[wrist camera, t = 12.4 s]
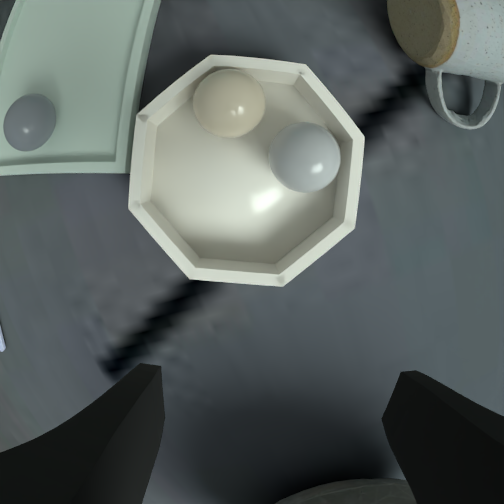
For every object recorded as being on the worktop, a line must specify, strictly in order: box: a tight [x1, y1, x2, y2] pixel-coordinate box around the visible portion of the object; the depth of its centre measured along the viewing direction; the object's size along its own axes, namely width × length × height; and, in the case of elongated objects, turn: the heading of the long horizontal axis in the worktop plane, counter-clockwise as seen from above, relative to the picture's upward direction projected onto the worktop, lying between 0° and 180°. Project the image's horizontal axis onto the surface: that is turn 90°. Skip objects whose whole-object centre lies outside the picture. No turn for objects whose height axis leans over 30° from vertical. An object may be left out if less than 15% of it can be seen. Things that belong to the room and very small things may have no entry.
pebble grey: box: [269, 122, 341, 193], centre depth 14 cm, size 3×3×3 cm
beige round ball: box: [193, 69, 266, 138], centre depth 13 cm, size 3×3×3 cm
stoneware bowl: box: [128, 55, 365, 287], centre depth 15 cm, size 11×11×2 cm
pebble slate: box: [3, 93, 56, 152], centre depth 13 cm, size 3×3×3 cm
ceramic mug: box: [387, 0, 504, 129], centre depth 11 cm, size 11×8×8 cm
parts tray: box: [0, 0, 161, 176], centre depth 13 cm, size 12×15×1 cm
